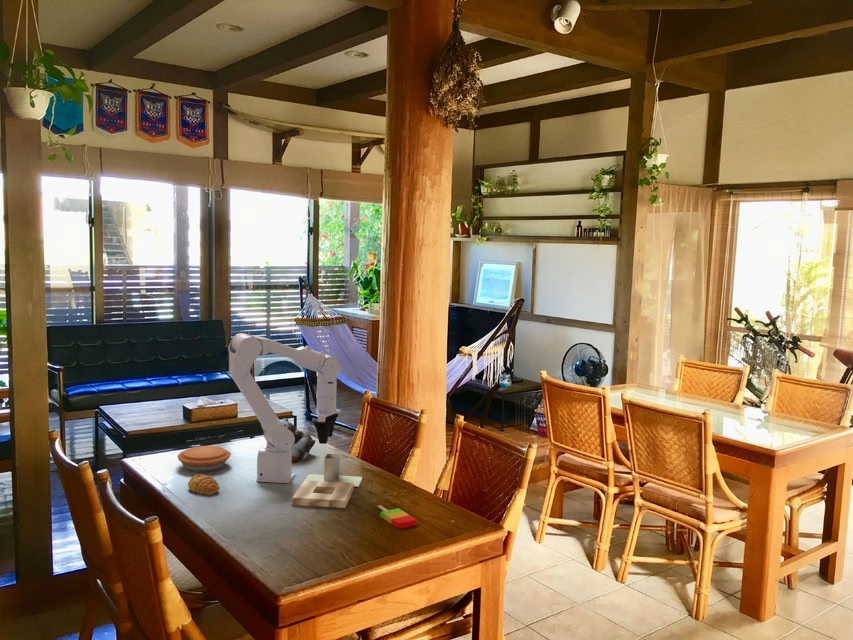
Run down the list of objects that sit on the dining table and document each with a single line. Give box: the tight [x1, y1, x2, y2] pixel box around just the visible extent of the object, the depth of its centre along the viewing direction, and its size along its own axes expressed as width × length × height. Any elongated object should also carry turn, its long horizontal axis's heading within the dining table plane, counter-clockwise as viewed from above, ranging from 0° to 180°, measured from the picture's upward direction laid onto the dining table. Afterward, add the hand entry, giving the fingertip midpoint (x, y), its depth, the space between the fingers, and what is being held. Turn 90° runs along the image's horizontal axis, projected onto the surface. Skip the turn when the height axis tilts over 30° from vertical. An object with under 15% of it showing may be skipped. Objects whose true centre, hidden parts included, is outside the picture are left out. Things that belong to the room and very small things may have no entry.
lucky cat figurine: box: [266, 417, 316, 463], centre depth 227 cm, size 15×12×14 cm
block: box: [323, 453, 343, 482], centre depth 205 cm, size 4×4×7 cm
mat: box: [304, 473, 364, 487], centre depth 206 cm, size 16×8×1 cm, turn 87°
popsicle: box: [377, 504, 417, 529], centre depth 181 cm, size 6×15×2 cm, turn 33°
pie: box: [177, 445, 232, 473], centre depth 216 cm, size 15×16×5 cm
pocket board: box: [291, 479, 355, 509], centre depth 193 cm, size 14×14×2 cm
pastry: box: [187, 473, 220, 496], centre depth 195 cm, size 9×7×4 cm
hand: (325, 440), depth 213 cm, fingers open, 7 cm apart
